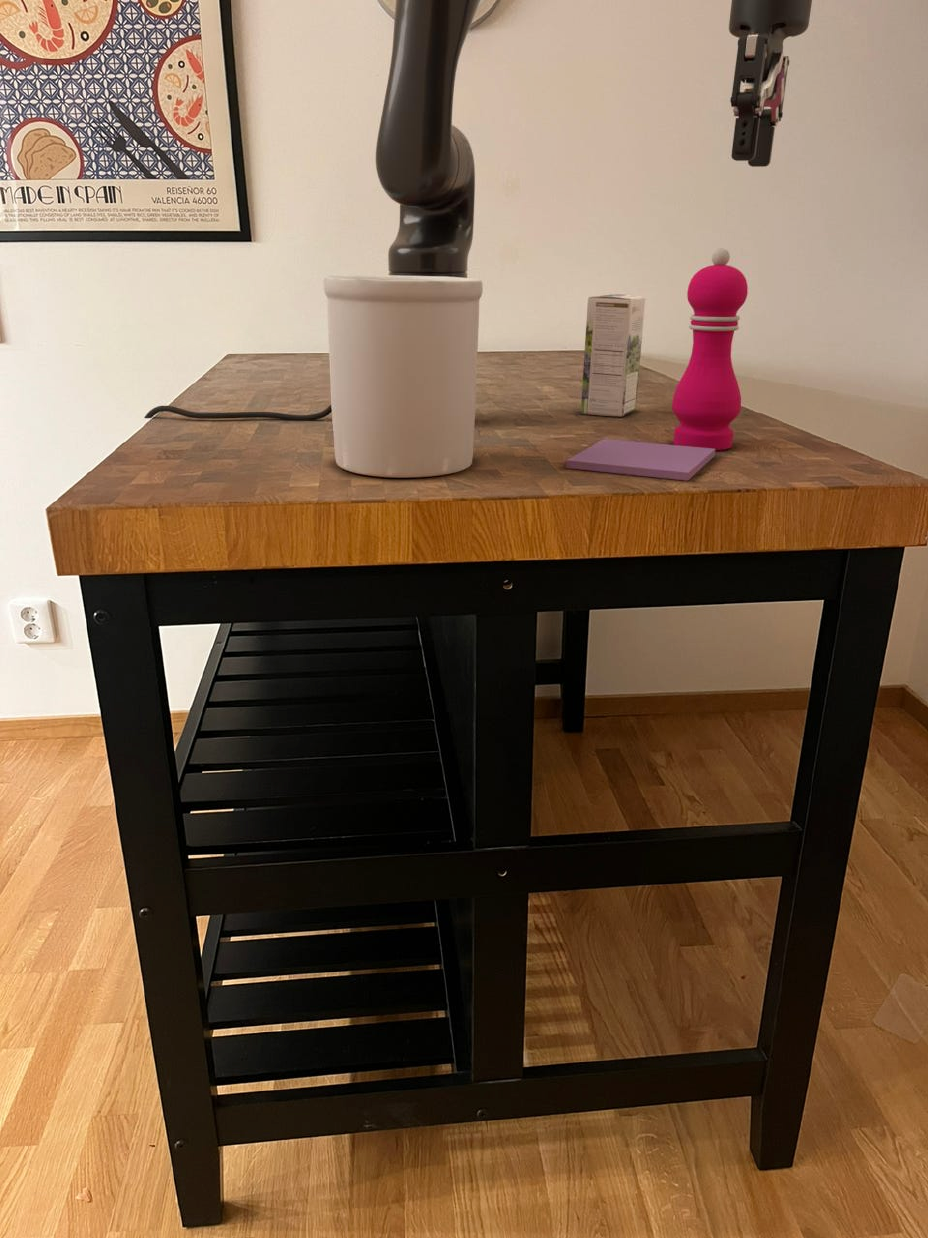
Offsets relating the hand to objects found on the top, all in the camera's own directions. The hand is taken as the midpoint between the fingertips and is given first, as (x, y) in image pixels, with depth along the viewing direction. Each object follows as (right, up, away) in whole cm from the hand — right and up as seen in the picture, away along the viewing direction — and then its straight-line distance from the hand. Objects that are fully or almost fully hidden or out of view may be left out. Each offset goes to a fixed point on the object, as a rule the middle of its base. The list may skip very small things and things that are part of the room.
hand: (750, 163), depth 95 cm
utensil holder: (-35, -31, -2) cm, 47 cm away
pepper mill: (-3, -28, +6) cm, 29 cm away
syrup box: (-11, -20, +26) cm, 34 cm away
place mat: (-11, -31, -2) cm, 33 cm away
